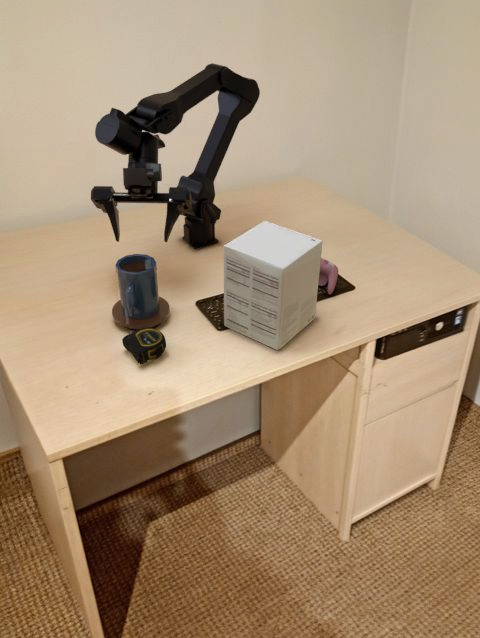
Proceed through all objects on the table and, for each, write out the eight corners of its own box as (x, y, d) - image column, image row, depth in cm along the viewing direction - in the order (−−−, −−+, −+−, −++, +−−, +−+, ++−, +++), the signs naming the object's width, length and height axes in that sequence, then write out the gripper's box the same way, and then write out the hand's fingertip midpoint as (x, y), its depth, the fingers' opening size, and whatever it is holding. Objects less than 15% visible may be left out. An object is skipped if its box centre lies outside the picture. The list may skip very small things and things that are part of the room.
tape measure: (122, 350, 111) (119, 333, 109) (156, 338, 114) (154, 321, 112) (138, 370, 107) (136, 353, 104) (173, 357, 110) (172, 340, 107)
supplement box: (261, 296, 127) (264, 219, 116) (316, 319, 121) (324, 239, 110) (222, 326, 118) (221, 245, 107) (278, 351, 112) (283, 269, 101)
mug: (121, 294, 123) (114, 247, 116) (175, 299, 122) (171, 251, 116) (103, 329, 114) (95, 279, 107) (161, 334, 113) (157, 284, 106)
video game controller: (335, 294, 131) (342, 261, 130) (332, 295, 127) (338, 262, 125) (291, 285, 133) (297, 253, 132) (286, 286, 129) (293, 253, 128)
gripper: (84, 144, 111) (82, 228, 109) (187, 146, 112) (186, 230, 110) (98, 168, 122) (96, 245, 120) (192, 170, 123) (191, 246, 121)
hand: (141, 241), depth 118 cm, fingers open, 9 cm apart
